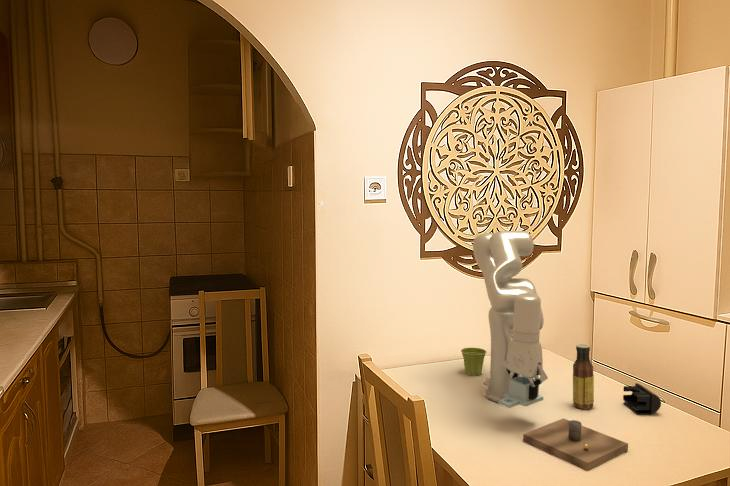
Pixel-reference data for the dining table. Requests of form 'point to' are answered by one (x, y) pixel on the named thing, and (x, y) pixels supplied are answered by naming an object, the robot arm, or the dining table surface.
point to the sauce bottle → (583, 379)
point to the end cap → (641, 400)
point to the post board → (575, 443)
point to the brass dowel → (586, 446)
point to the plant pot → (473, 360)
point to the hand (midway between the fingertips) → (523, 394)
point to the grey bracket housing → (519, 393)
